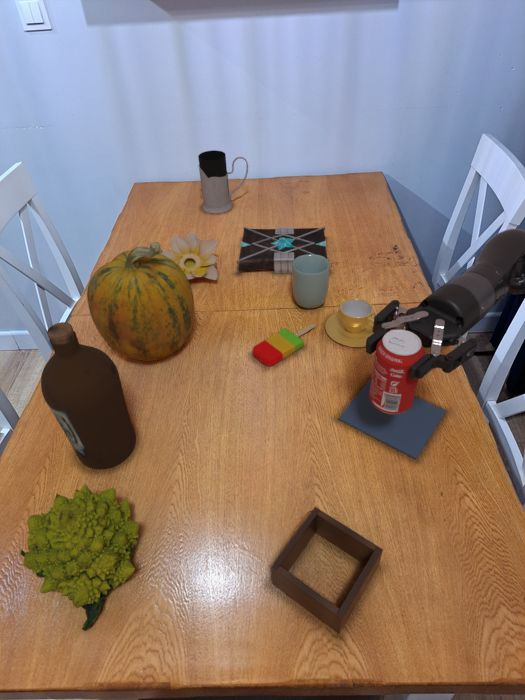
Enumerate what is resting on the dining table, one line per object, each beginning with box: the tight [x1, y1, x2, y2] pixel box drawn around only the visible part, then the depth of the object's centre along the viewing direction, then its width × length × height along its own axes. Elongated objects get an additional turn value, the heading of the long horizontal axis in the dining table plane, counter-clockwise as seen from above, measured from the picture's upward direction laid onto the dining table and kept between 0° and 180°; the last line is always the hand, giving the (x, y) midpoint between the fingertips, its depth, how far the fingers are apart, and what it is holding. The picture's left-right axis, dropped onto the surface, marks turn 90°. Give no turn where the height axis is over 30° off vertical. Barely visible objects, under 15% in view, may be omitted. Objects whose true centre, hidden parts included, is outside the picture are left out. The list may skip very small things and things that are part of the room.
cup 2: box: [324, 297, 376, 348], centre depth 98 cm, size 12×12×5 cm
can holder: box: [270, 506, 384, 635], centre depth 62 cm, size 10×10×5 cm
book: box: [236, 226, 330, 274], centre depth 121 cm, size 22×17×5 cm
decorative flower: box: [160, 231, 219, 281], centre depth 114 cm, size 15×11×10 cm
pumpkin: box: [86, 241, 195, 362], centre depth 91 cm, size 19×19×25 cm
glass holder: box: [197, 149, 249, 214], centre depth 139 cm, size 9×14×15 cm, turn 100°
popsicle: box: [252, 323, 317, 367], centre depth 97 cm, size 6×15×2 cm, turn 131°
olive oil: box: [40, 321, 137, 470], centre depth 72 cm, size 11×11×25 cm
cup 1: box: [291, 254, 331, 310], centre depth 104 cm, size 8×8×10 cm
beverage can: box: [369, 329, 425, 414], centre depth 69 cm, size 6×6×12 cm
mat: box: [338, 377, 447, 460], centre depth 83 cm, size 14×12×1 cm
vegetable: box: [20, 483, 140, 632], centre depth 63 cm, size 15×16×15 cm
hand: (389, 360), depth 65 cm, fingers closed on beverage can, 6 cm apart
